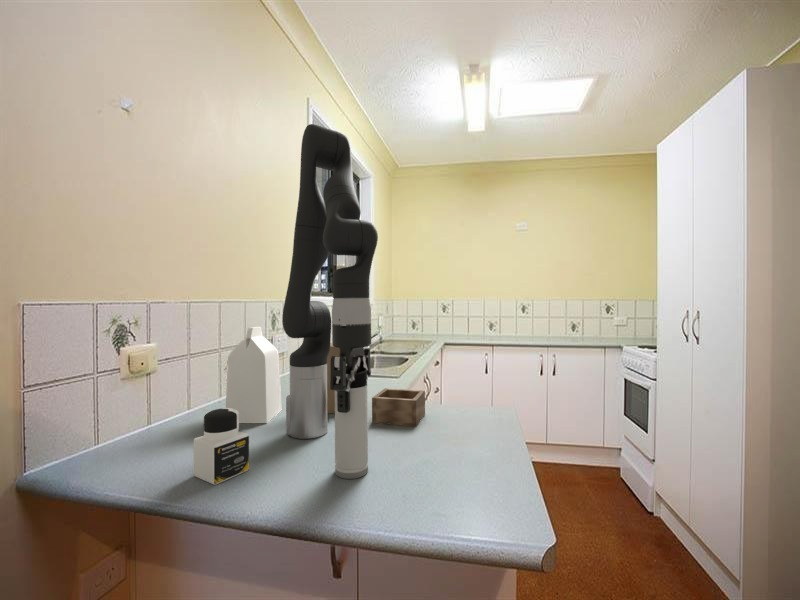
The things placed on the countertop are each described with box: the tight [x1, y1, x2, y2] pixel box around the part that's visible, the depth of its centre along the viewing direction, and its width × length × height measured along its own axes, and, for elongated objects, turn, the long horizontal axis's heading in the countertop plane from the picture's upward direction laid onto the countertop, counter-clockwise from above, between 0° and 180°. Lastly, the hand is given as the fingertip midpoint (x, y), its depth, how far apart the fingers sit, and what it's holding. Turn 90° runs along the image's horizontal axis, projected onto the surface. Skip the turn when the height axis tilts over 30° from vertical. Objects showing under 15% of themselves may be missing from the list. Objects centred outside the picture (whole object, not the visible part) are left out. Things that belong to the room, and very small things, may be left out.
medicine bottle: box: [193, 407, 250, 486], centre depth 70 cm, size 7×7×12 cm
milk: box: [225, 326, 283, 424], centre depth 105 cm, size 12×12×26 cm
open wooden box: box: [371, 388, 426, 427], centre depth 103 cm, size 12×11×7 cm
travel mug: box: [334, 367, 369, 480], centre depth 70 cm, size 6×7×20 cm
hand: (352, 405), depth 70 cm, fingers open, 8 cm apart
